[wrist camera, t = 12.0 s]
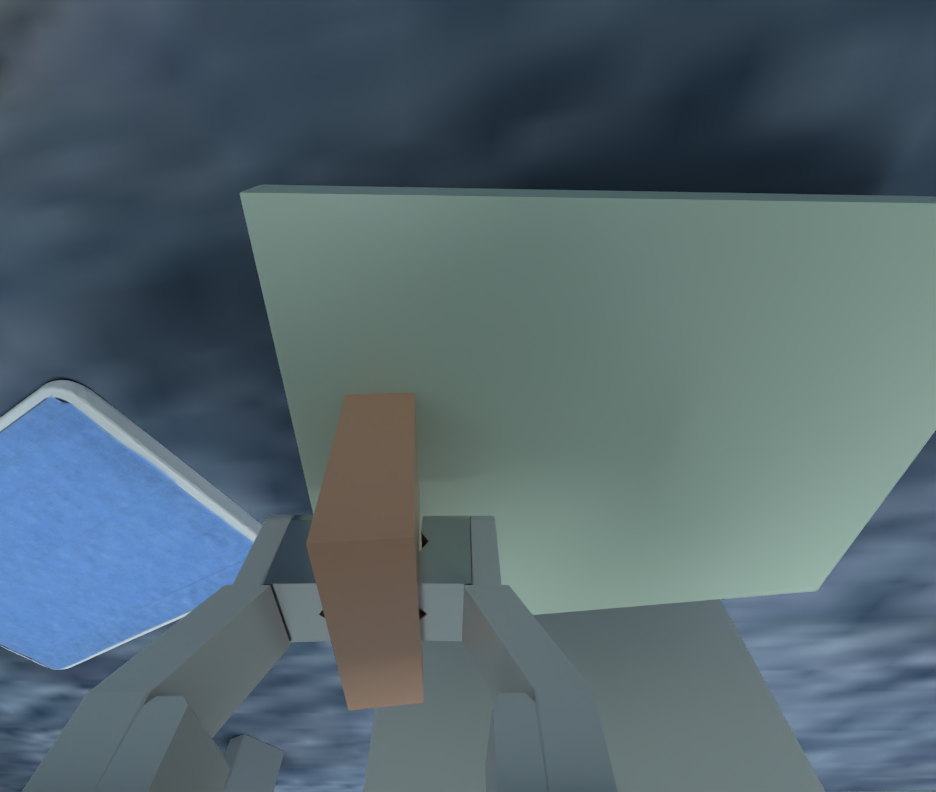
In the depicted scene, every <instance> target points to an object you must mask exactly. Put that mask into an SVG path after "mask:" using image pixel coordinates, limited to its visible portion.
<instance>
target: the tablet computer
mask: <svg viewBox="0 0 936 792" xmlns="http://www.w3.org/2000/svg"><path fill="white" fill-rule="evenodd" d="M261 527H262V524H260V523H259V522H258V521H257V520H255V519H254V518H253V517H251V516H250V515H249V514H248V513H246V512H245V511H244V510H243V509H241V508H240V507H239V506H238V505H236V504H235V503H234V502H233V501H231V500H230V499H229V498H228V497H226V496H225V495H224V494H223V493H221V492H220V491H219V490H218V489H217V488H215V487H214V486H213V485H212V484H210V483H209V482H208V481H207V480H205V479H204V478H203V477H201V476H200V475H199V474H198V473H196V472H195V471H194V470H193V469H191V468H190V467H189V466H188V465H186V464H185V463H184V462H182V461H181V460H180V459H179V458H177V457H176V456H175V455H174V454H172V453H171V452H170V451H169V450H167V449H166V448H165V447H164V446H162V445H161V444H160V443H159V442H157V441H156V440H155V439H154V438H152V437H151V436H150V435H148V434H147V433H146V432H145V431H143V430H142V429H141V428H140V427H138V426H137V425H136V424H135V423H133V422H132V421H131V420H129V419H128V418H127V417H126V416H124V415H123V414H122V413H121V412H119V411H118V410H117V409H116V408H114V407H113V406H112V405H110V404H109V403H108V402H106V401H105V400H104V399H102V398H101V397H100V396H98V395H97V394H96V393H94V392H93V391H92V390H90V389H89V388H87V387H85V386H83V385H81V384H79V383H76V382H73V381H69V380H57V381H52V382H49V383H47V384H45V385H43V386H42V387H41V388H39V389H38V390H37V391H36V392H34V393H33V394H31V395H30V396H28V397H27V398H26V399H24V400H23V401H22V402H20V403H19V404H18V405H16V406H15V407H14V408H12V409H11V410H10V411H8V412H7V413H6V414H4V415H3V416H2V417H0V646H1V647H3V648H6V649H8V650H10V651H12V652H14V653H17V654H19V655H21V656H23V657H25V658H28V659H30V660H32V661H34V662H36V663H38V664H41V665H43V666H45V667H48V668H51V669H57V670H61V669H68V668H70V667H73V666H75V665H77V664H79V663H81V662H84V661H86V660H88V659H91V658H93V657H95V656H97V655H99V654H102V653H104V652H106V651H108V650H111V649H113V648H115V647H117V646H119V645H121V644H124V643H126V642H128V641H130V640H133V639H135V638H137V637H139V636H142V635H144V634H146V633H148V632H151V631H153V630H155V629H157V628H160V627H162V626H164V625H166V624H169V623H171V622H173V621H175V620H178V619H180V618H182V617H184V616H186V615H187V614H188V613H190V612H191V611H192V610H194V609H195V608H196V607H197V606H199V605H200V604H201V603H202V602H204V601H205V600H206V599H208V598H209V597H210V596H211V595H213V594H214V593H215V592H216V591H218V590H219V589H220V588H221V587H223V586H224V585H233V583H234V581H235V579H236V577H237V575H238V573H239V571H240V569H241V567H242V565H243V563H244V561H245V559H246V557H247V555H248V553H249V551H250V549H251V547H252V545H253V543H254V541H255V539H256V537H257V535H258V533H259V531H260V529H261Z"/></svg>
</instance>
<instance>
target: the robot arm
mask: <svg viewBox="0 0 936 792" xmlns="http://www.w3.org/2000/svg"><path fill="white" fill-rule="evenodd" d="M313 516H314V515H273V514H271V515H270V516H269V517H268V518H267V519H266V520H265V521H264V523H263V525H262V527H261V529H260V531H259V533H258V535H257V537H256V539H255V541H254V543H253V545H252V547H251V549H250V551H249V553H248V555H247V557H246V559H245V561H244V563H243V565H242V567H241V569H240V571H239V573H238V575H237V577H236V579H235V581H234V583H233V585H224V586H223V587H221V588H220V589H219V590H218V591H216V592H215V593H214V594H213V595H211V596H210V597H209V598H208V599H206V600H205V601H204V602H202V603H201V604H200V605H199V606H197V607H196V608H195V609H194V610H192V611H191V612H190V613H188V614H187V615H186V616H185V617H183V618H182V619H181V620H180V621H178V622H177V623H176V624H175V625H173V626H172V627H171V628H169V629H168V630H167V631H166V632H164V633H163V634H162V635H161V636H159V637H158V638H157V639H155V640H154V641H153V642H152V643H150V644H149V645H148V646H147V647H145V648H144V649H143V650H142V651H140V652H139V653H138V654H136V655H135V656H134V657H133V658H131V659H130V660H129V661H128V662H126V663H125V664H124V665H122V666H121V667H120V668H119V669H117V670H116V671H115V672H114V673H112V674H111V675H110V676H108V677H107V678H106V679H105V680H103V681H102V682H101V683H100V684H98V685H97V686H96V687H95V688H93V689H92V690H91V691H89V692H88V693H87V694H86V696H85V697H84V699H83V700H82V702H81V703H80V705H79V706H78V708H77V709H76V711H75V712H74V714H73V715H72V717H71V718H70V720H69V721H68V723H67V724H66V726H65V728H64V729H63V731H62V732H61V734H60V735H59V737H58V738H57V740H56V741H55V743H54V744H53V746H52V747H51V749H50V750H49V752H48V753H47V755H46V756H45V758H44V759H43V761H42V762H41V764H40V765H39V767H38V768H37V770H36V771H35V773H34V774H33V776H32V777H31V779H30V780H29V782H28V783H27V785H26V786H25V788H24V789H23V791H22V792H222V791H223V788H224V785H225V782H226V780H227V777H228V774H229V771H230V767H229V764H228V762H227V759H226V758H225V757H224V755H223V754H222V752H221V751H220V749H219V748H218V746H217V745H216V743H215V742H214V740H213V739H212V738H213V736H214V735H215V734H216V733H217V732H218V731H219V729H220V728H221V727H222V726H223V725H224V723H225V722H226V721H227V720H228V719H229V718H230V716H231V715H232V714H233V713H234V712H235V710H236V709H237V708H238V707H239V706H240V705H241V703H242V702H243V701H244V700H245V699H246V697H247V696H248V695H249V694H250V693H251V692H252V690H253V689H254V688H255V687H256V686H257V684H258V683H259V682H260V681H261V680H262V678H263V677H264V676H265V675H266V674H267V673H268V671H269V670H270V669H271V668H272V667H273V665H274V664H275V663H276V662H277V661H278V660H279V658H280V657H281V656H282V655H283V654H284V652H285V651H286V650H287V649H288V648H289V647H290V645H291V644H290V642H312V641H331V640H330V636H329V632H328V628H327V624H326V620H325V616H324V612H323V608H322V605H321V601H320V597H319V593H318V589H317V585H316V581H315V577H314V573H313V569H312V566H311V562H310V558H309V554H308V550H307V546H306V542H307V538H308V535H309V531H310V527H311V523H312V520H313ZM421 541H422V549H421V550H420V551H419V562H418V597H419V608H420V632H421V641H461V642H462V645H463V646H464V648H465V650H466V652H467V654H468V656H469V657H470V659H471V661H472V663H473V665H474V667H475V669H476V670H477V672H478V674H479V676H480V678H481V680H482V681H483V683H484V685H485V687H486V689H487V691H488V692H489V694H490V696H491V698H492V700H493V707H492V715H491V723H490V731H489V739H488V747H487V755H486V763H485V774H486V792H618V791H617V787H616V783H615V779H614V775H613V770H612V766H611V762H610V758H609V754H608V750H607V745H606V741H605V737H604V733H603V729H602V725H601V720H600V716H599V712H598V708H597V704H596V700H595V695H594V691H593V690H592V688H591V687H590V686H589V685H588V683H587V682H586V681H585V680H584V678H583V677H582V676H581V675H580V673H579V672H578V671H577V670H576V668H575V667H574V666H573V665H572V663H571V662H570V661H569V660H568V658H567V657H566V656H565V655H564V653H563V652H562V651H561V650H560V648H559V647H558V646H557V645H556V643H555V642H554V641H553V640H552V638H551V637H550V636H549V635H548V633H547V632H546V631H545V630H544V628H543V627H542V626H541V625H540V623H539V622H538V621H537V620H536V618H535V617H534V616H533V615H532V613H531V612H530V611H529V610H528V608H527V607H526V606H525V605H524V603H523V602H522V601H521V599H520V598H519V597H518V596H517V594H516V593H515V592H514V591H513V589H512V588H511V587H510V586H509V585H502V583H501V573H500V563H499V552H498V542H497V531H496V521H495V518H494V516H423V520H422V529H421ZM862 792H936V790H930V791H862Z"/></svg>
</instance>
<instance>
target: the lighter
mask: <svg viewBox="0 0 936 792" xmlns="http://www.w3.org/2000/svg"><path fill="white" fill-rule="evenodd" d="M283 755H284V751H282V750H280V749H278V748H275V747H273V746H271V745H268V744H266V743H264V742H262V741H259V740H257V739H255V738H252V737H250V736H248V735H240V736H237V737H235V738H232V739H230V741H229V744H228V746H227V749H226V752H225V754H224V757H225V758H226V759H227V762H228V764H229V767H230V771H229V774H228V777H227V780H226V782H225V785H224V788H223V791H222V792H273V791H274V787H275V784H276V780H277V777H278V773H279V770H280V766H281V762H282V759H283Z"/></svg>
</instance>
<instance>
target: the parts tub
mask: <svg viewBox="0 0 936 792" xmlns="http://www.w3.org/2000/svg"><path fill="white" fill-rule="evenodd" d="M533 616H534V617H535V618H536V620H537V621H538V622H539V623H540V625H541V626H542V627H543V628H544V630H545V631H546V632H547V633H548V635H549V636H550V637H551V638H552V640H553V641H554V642H555V643H556V645H557V646H558V647H559V648H560V650H561V651H562V652H563V653H564V655H565V656H566V657H567V658H568V660H569V661H570V662H571V663H572V665H573V666H574V667H575V668H576V670H577V671H578V672H579V673H580V675H581V676H582V677H583V678H584V680H585V681H586V682H587V683H588V685H589V686H590V687H591V688H592V690H593V691H594V695H595V700H596V704H597V708H598V712H599V716H600V720H601V725H602V729H603V733H604V737H605V741H606V745H607V750H608V754H609V758H610V762H611V766H612V770H613V775H614V779H615V783H616V787H617V791H618V792H825V790H824V788H823V786H822V785H821V783H820V781H819V779H818V777H817V775H816V774H815V772H814V770H813V768H812V766H811V765H810V763H809V761H808V759H807V757H806V755H805V754H804V752H803V750H802V748H801V746H800V744H799V743H798V741H797V739H796V737H795V735H794V734H793V732H792V730H791V728H790V726H789V724H788V723H787V721H786V719H785V717H784V715H783V713H782V712H781V710H780V708H779V706H778V704H777V702H776V701H775V699H774V697H773V695H772V693H771V692H770V690H769V688H768V686H767V684H766V682H765V681H764V679H763V677H762V675H761V673H760V671H759V670H758V668H757V666H756V664H755V662H754V660H753V659H752V657H751V655H750V653H749V651H748V650H747V648H746V646H745V644H744V642H743V640H742V639H741V637H740V635H739V633H738V631H737V629H736V628H735V626H734V624H733V622H732V620H731V619H730V617H729V615H728V613H727V611H726V609H725V608H724V606H723V604H722V602H721V600H720V599H716V600H704V601H693V602H681V603H669V604H657V605H645V606H634V607H622V608H610V609H598V610H586V611H575V612H563V613H551V614H539V615H533ZM423 689H424V703H417V704H408V705H398V706H388V707H379V708H375V714H374V720H373V727H372V734H371V741H370V748H369V754H368V761H367V768H366V775H365V782H364V788H363V792H486V774H485V763H486V755H487V747H488V739H489V731H490V723H491V715H492V707H493V700H492V698H491V696H490V694H489V692H488V691H487V689H486V687H485V685H484V683H483V681H482V680H481V678H480V676H479V674H478V672H477V670H476V669H475V667H474V665H473V663H472V661H471V659H470V657H469V656H468V654H467V652H466V650H465V648H464V646H463V645H462V642H461V641H423Z"/></svg>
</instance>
